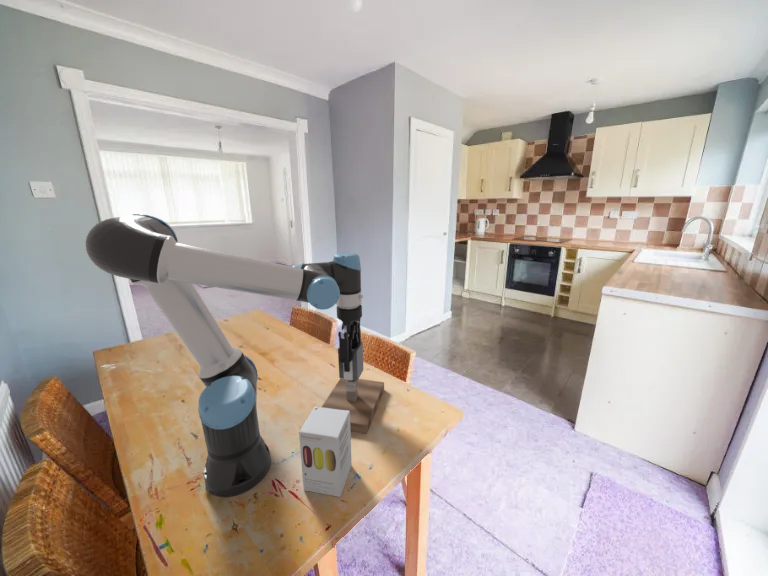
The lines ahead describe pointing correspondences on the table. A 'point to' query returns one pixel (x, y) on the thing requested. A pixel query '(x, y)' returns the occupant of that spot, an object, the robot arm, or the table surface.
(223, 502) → the table surface
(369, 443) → the table surface
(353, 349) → the hollow square tube
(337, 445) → the supplement box
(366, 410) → the tang block
